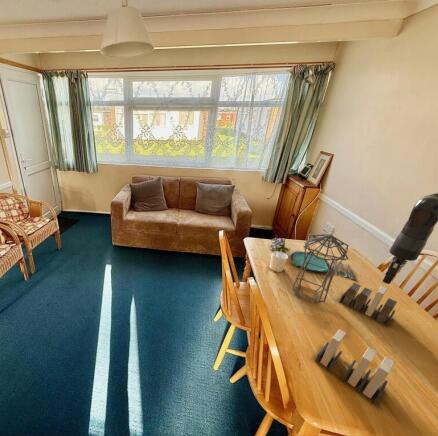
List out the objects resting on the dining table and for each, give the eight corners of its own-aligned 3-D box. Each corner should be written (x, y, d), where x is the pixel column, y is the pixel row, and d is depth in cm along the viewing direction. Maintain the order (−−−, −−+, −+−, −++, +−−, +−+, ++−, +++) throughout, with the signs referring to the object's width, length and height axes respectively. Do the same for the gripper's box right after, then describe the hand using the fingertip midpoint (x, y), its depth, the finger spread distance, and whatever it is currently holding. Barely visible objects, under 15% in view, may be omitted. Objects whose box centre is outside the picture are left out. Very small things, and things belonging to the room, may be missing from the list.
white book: (374, 310, 103) (387, 288, 97) (370, 316, 100) (383, 294, 94) (369, 307, 104) (381, 285, 99) (364, 313, 101) (377, 291, 96)
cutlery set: (290, 251, 149) (291, 248, 148) (348, 265, 135) (350, 262, 134) (289, 266, 134) (290, 263, 133) (354, 285, 119) (356, 281, 118)
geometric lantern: (326, 295, 113) (353, 233, 98) (324, 315, 102) (353, 248, 87) (290, 281, 122) (310, 223, 107) (284, 298, 111) (305, 236, 96)
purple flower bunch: (270, 256, 153) (269, 238, 155) (289, 257, 148) (288, 239, 151) (270, 255, 143) (270, 236, 145) (291, 256, 138) (290, 236, 141)
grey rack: (391, 319, 100) (402, 302, 95) (386, 328, 96) (397, 311, 91) (343, 296, 113) (351, 280, 108) (337, 303, 108) (345, 286, 104)
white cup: (265, 266, 134) (269, 251, 130) (277, 264, 136) (281, 250, 132) (274, 274, 127) (278, 259, 123) (286, 272, 129) (291, 258, 124)
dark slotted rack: (382, 391, 74) (402, 364, 68) (374, 407, 70) (395, 380, 64) (322, 350, 87) (335, 324, 81) (312, 361, 83) (325, 335, 77)
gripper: (418, 256, 81) (396, 291, 88) (426, 244, 88) (405, 277, 95) (389, 246, 86) (371, 280, 93) (399, 236, 94) (381, 268, 100)
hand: (388, 278), depth 94 cm, fingers open, 8 cm apart
